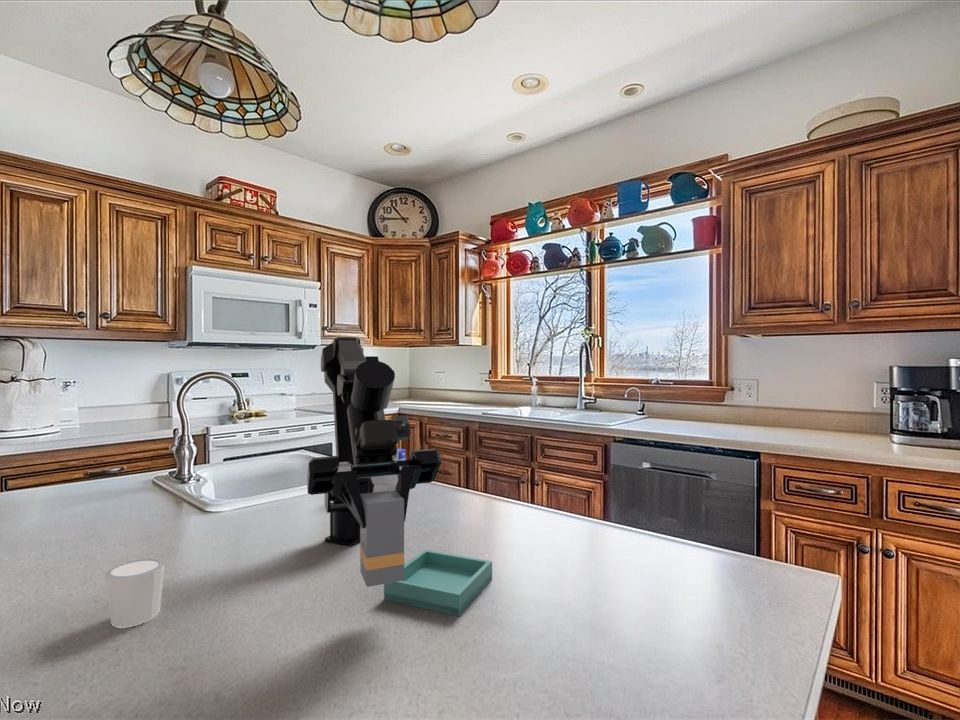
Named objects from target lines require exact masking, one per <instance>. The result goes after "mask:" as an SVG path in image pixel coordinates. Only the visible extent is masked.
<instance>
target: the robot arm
mask: <svg viewBox="0 0 960 720" xmlns="http://www.w3.org/2000/svg"><path fill="white" fill-rule="evenodd" d="M364 354H365V353H364V348H363V347H362V346H361V338H358V337H356V336H337V337H334V338H333V340H332V342H331V343H330V344H328V345H326V346H325V347H323V348H322V350H321V355H320V371H321V373H323V374H324V375H323V377H324V383H325V384H326V386H327V387H328V388H329V390H330V391H331V392H332V395H333V396H332V400H333V403H332V404H333V418H334V421H333V422H334V437H335V455H331V456H319V457H311V459H310V460H309V461H308V463H307V464H308V465H307V466H308V467H307V474H306V475H307V476H306V486H307V494H309V495H312V496H313V495H322V494H324V508H325V510H326V513H327V514H329V536H326V537H324V542H329V543H335V544H340V545H345V546H346V545H347V546H353V545H355V544H357V543H358V542H360V526H361V527H362V528H365V526H366V522H365V512H364V508H363V504H362V500H361V495H360V494H365V493H373V491H374V484H373V483H372V480H371V477H378V476H389V475H397V477H398V482H397V485H396V488H395V489H396V491H397V492H398V494H399V495H400V496H401V497H402V498H403V499H404V523H405V522H406V519H407V518H406V517H407V511H408V501H409V496H410V490H412V489H413V490H414V489H415V487H416V486H417V485H419V484H430V483H432V482H433V481H435V480H436V477H437V475H438V471H439V469H440V467H441V464H442V459H441V456H440V452H439V451H438V450H437V449H435V448H423V449H412V450H411V453H410V456H409V459H406V460H402V461H394V460H393V456H395V455H396V453H397V449H398V448H397V444H399V443H400V441H407V440H408V439H409V438H410V436H411V433H412V431H411V426H410V421H409V417H408V415H406V416H405V415H403V416H395V417H394V419H386V414H385V409H387V408H388V406H389V403H390V399H391V394H392V391H393V390H392V389H393V388H394V387H393V386H394V381H395V379H396V374H395V371H394V369H393V368H392V367H391V366H390V365H389V364H387V363H385V362H383V361H381V360H380V359H379V356H377V355H376V356H374V355H373V356H367V355H366V356H365V355H364Z"/></svg>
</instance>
